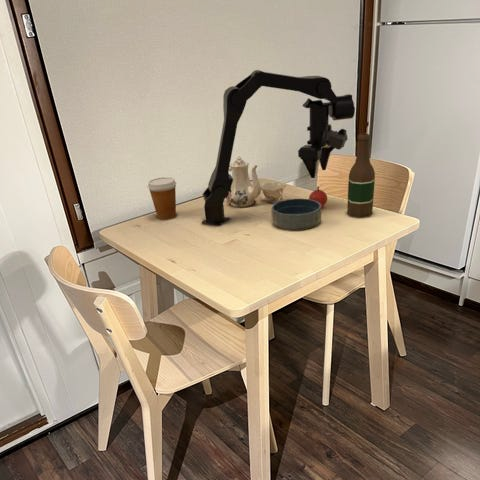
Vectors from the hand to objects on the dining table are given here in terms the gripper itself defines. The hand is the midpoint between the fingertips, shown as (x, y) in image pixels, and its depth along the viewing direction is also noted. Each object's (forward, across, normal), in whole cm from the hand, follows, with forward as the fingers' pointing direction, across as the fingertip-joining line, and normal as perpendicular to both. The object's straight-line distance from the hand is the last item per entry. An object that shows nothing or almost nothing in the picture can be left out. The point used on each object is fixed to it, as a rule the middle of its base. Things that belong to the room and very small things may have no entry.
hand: (318, 173), depth 156 cm
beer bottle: (+11, -1, -14) cm, 18 cm away
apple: (+11, 0, 0) cm, 11 cm away
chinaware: (+11, -1, +27) cm, 29 cm away
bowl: (+11, -14, +2) cm, 18 cm away
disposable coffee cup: (+11, -23, +46) cm, 52 cm away
